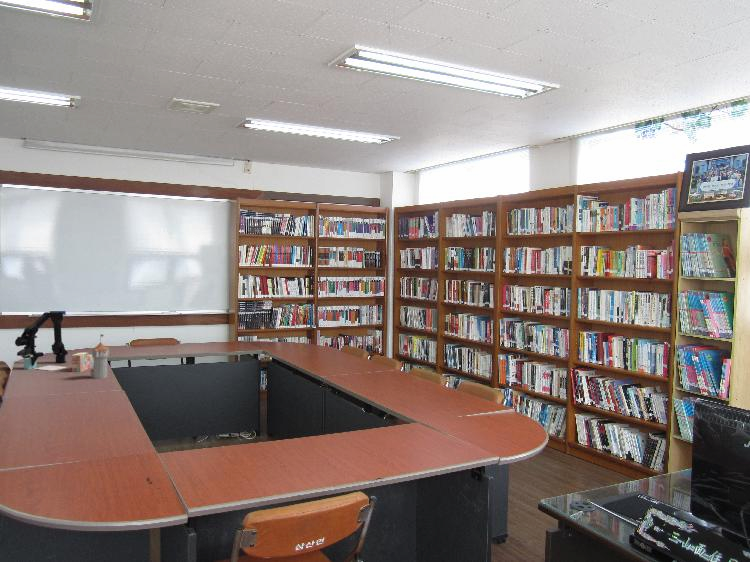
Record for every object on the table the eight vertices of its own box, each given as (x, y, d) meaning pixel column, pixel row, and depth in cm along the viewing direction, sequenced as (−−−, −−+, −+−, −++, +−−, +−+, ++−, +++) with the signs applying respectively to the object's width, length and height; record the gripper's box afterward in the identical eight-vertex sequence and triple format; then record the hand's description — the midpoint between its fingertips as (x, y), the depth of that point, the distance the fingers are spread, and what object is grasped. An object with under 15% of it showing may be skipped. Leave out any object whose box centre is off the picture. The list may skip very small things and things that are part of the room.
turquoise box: (31, 367, 439) (31, 356, 439) (36, 367, 438) (36, 357, 438) (24, 369, 432) (24, 358, 432) (28, 369, 431) (28, 358, 431)
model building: (100, 379, 402) (100, 335, 401) (84, 378, 404) (84, 334, 403) (113, 375, 415) (113, 333, 414) (98, 374, 418) (98, 332, 417)
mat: (48, 366, 446) (48, 365, 446) (66, 367, 442) (66, 366, 442) (33, 369, 432) (33, 368, 432) (51, 370, 428) (51, 370, 428)
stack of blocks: (85, 366, 448) (85, 350, 447) (93, 366, 448) (93, 350, 447) (71, 372, 426) (71, 355, 426) (80, 372, 427) (80, 355, 426)
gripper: (10, 345, 429) (10, 366, 430) (31, 346, 425) (31, 368, 425) (23, 343, 440) (23, 364, 441) (44, 344, 435) (44, 365, 436)
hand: (30, 365), depth 435 cm, fingers closed on turquoise box, 4 cm apart
